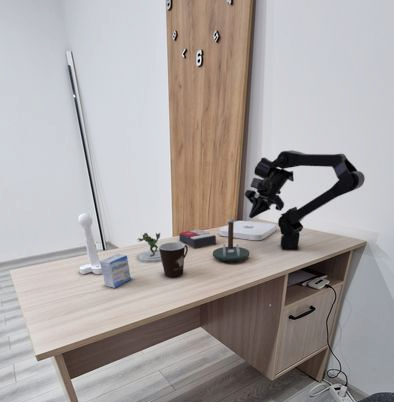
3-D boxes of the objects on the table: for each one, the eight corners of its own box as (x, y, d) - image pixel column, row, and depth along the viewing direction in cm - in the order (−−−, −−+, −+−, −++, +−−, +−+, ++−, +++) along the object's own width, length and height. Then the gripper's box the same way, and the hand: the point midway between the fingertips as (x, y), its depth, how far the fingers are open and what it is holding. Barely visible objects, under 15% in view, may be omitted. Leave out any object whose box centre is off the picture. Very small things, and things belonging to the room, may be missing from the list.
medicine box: (114, 288, 95) (109, 262, 91) (104, 286, 98) (99, 260, 93) (131, 279, 101) (127, 255, 97) (121, 277, 103) (117, 253, 99)
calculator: (199, 228, 142) (216, 233, 130) (200, 237, 144) (216, 243, 132) (178, 232, 137) (193, 238, 126) (179, 241, 140) (194, 248, 128)
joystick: (108, 264, 114) (98, 210, 104) (115, 270, 109) (105, 213, 99) (79, 271, 109) (65, 215, 99) (85, 278, 104) (70, 219, 93)
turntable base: (244, 254, 119) (244, 251, 119) (243, 263, 111) (243, 260, 110) (219, 253, 121) (219, 250, 120) (216, 262, 113) (216, 259, 112)
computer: (260, 241, 133) (260, 235, 132) (217, 235, 144) (217, 230, 142) (277, 229, 149) (278, 224, 147) (237, 225, 159) (237, 220, 158)
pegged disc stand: (251, 260, 109) (253, 227, 103) (212, 261, 110) (212, 228, 103) (247, 248, 121) (249, 218, 115) (212, 249, 122) (212, 218, 115)
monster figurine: (132, 257, 120) (128, 232, 115) (155, 250, 128) (153, 225, 122) (151, 264, 113) (148, 237, 108) (174, 256, 120) (172, 230, 115)
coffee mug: (167, 281, 99) (164, 252, 94) (158, 272, 106) (155, 245, 101) (198, 274, 103) (197, 245, 98) (187, 266, 110) (186, 239, 105)
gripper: (249, 167, 118) (225, 200, 119) (281, 170, 103) (253, 207, 105) (263, 187, 125) (240, 218, 126) (295, 192, 110) (269, 227, 112)
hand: (250, 217), depth 117 cm, fingers closed
